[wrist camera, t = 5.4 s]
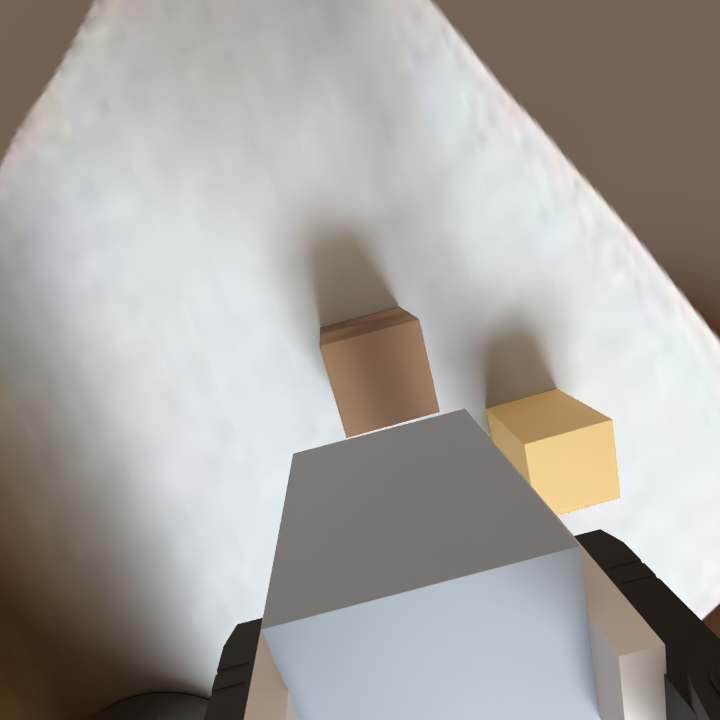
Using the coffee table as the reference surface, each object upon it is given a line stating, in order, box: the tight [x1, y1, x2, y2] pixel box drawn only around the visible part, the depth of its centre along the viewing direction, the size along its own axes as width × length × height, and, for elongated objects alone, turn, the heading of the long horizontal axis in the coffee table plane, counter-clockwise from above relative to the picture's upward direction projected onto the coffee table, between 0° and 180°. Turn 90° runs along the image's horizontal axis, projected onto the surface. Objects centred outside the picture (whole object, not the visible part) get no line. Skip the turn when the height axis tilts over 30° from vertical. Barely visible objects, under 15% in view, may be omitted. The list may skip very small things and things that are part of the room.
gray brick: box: [261, 409, 600, 720], centre depth 10 cm, size 6×6×6 cm
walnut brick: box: [320, 307, 440, 438], centre depth 25 cm, size 6×6×6 cm
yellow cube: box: [486, 389, 620, 516], centre depth 28 cm, size 6×6×6 cm
